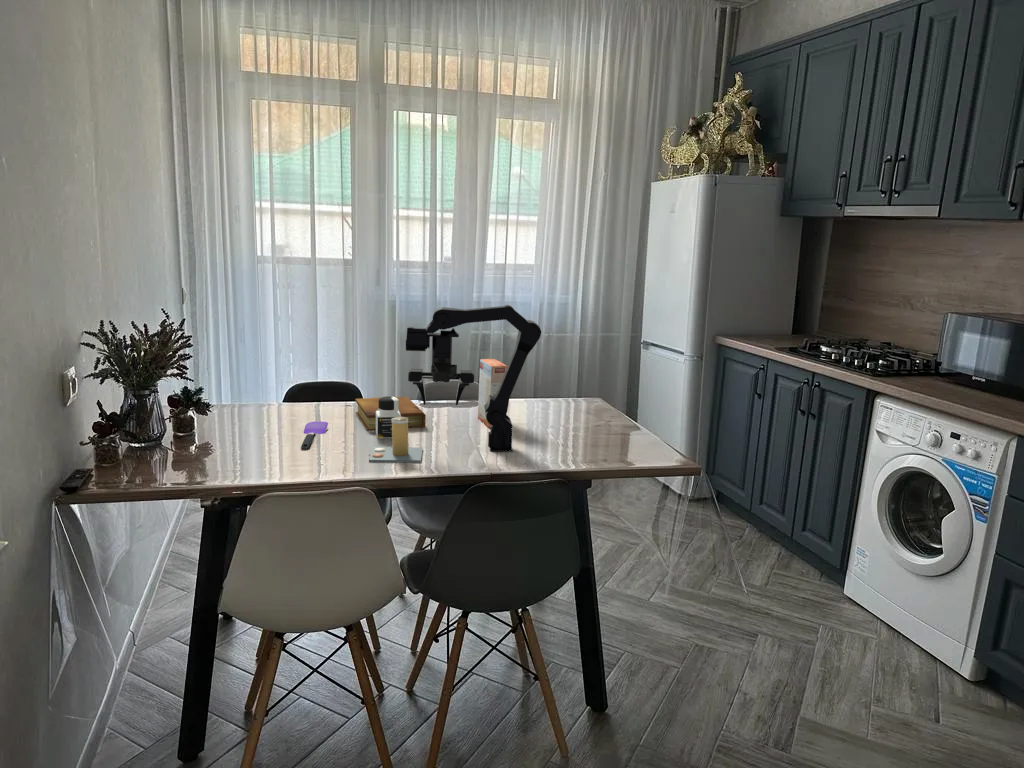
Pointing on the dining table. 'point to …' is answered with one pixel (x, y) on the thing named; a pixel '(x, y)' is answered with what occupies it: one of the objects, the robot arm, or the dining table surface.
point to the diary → (405, 407)
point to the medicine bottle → (386, 416)
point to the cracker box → (489, 383)
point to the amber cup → (400, 436)
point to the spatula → (313, 432)
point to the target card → (387, 455)
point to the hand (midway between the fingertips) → (440, 404)
